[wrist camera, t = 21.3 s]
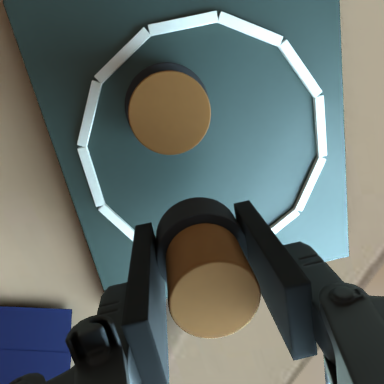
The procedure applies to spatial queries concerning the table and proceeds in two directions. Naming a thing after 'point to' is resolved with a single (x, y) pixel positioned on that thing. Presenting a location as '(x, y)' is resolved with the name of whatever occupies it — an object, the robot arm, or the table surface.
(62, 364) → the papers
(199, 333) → the stamp
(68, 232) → the table surface
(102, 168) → the slate board
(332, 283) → the robot arm
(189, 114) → the stamp
